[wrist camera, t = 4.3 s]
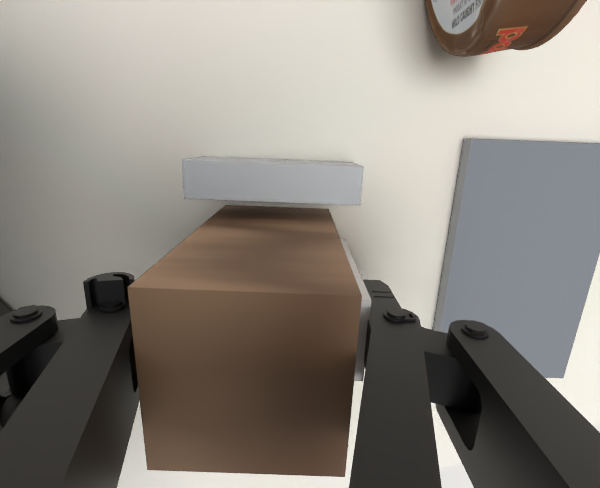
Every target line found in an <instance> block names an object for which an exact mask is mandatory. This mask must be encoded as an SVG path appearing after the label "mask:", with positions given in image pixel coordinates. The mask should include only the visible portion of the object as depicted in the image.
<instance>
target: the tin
mask: <svg viewBox="0 0 600 488" xmlns="http://www.w3.org/2000/svg"><path fill="white" fill-rule="evenodd" d="M425 1H426V6H427V11H428V16H429V20H430V24H431V27H432V29H433V32H434V35H435V37H436V39H437V41H438V42H439V44H440V45H441V47H442V48H443V49H444V50H445V51H447V52H448V53H450V54H453V55H457V56H475V55H481V54H486V53H491V52H496V51H502V50H507V49H515V50H528V49H532V48H535V47H538V46H540V45H542V44H544V43H545V42H547V41H549V40H550V39H552V38H553V37H554V36H555V35H557V34H558V33H559V32H560V31H561V30H562V29H563V28H564V27H565V26H566V25H567V24H568V23H569V22H570V21H571V20H572V19H573V17H574V16H575V15H576V14H577V13H578V12H579V10H580V9H581V7H582V6H583V5H584V4H585V2H586V1H587V0H425Z"/></svg>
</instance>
